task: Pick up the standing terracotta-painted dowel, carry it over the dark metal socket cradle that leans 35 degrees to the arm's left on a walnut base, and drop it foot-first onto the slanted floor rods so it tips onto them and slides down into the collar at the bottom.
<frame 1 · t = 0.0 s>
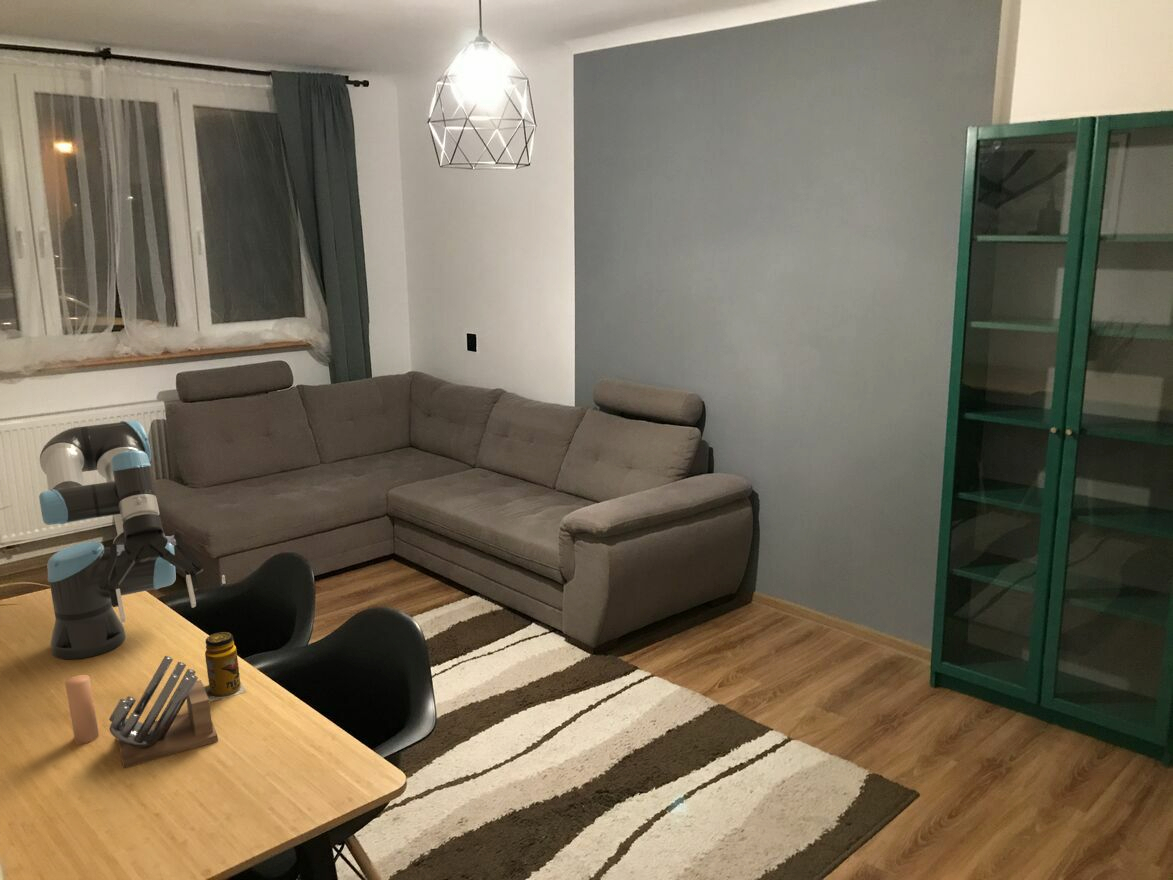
hand: (159, 613, 194), 15 cm above the table, tool tilted 35°, fingers open, 13 cm apart
socket base: (138, 747, 172), on the table
peg: (87, 737, 176), on the table
condiment: (221, 691, 193), on the table
socket: (138, 747, 172), resting on socket base
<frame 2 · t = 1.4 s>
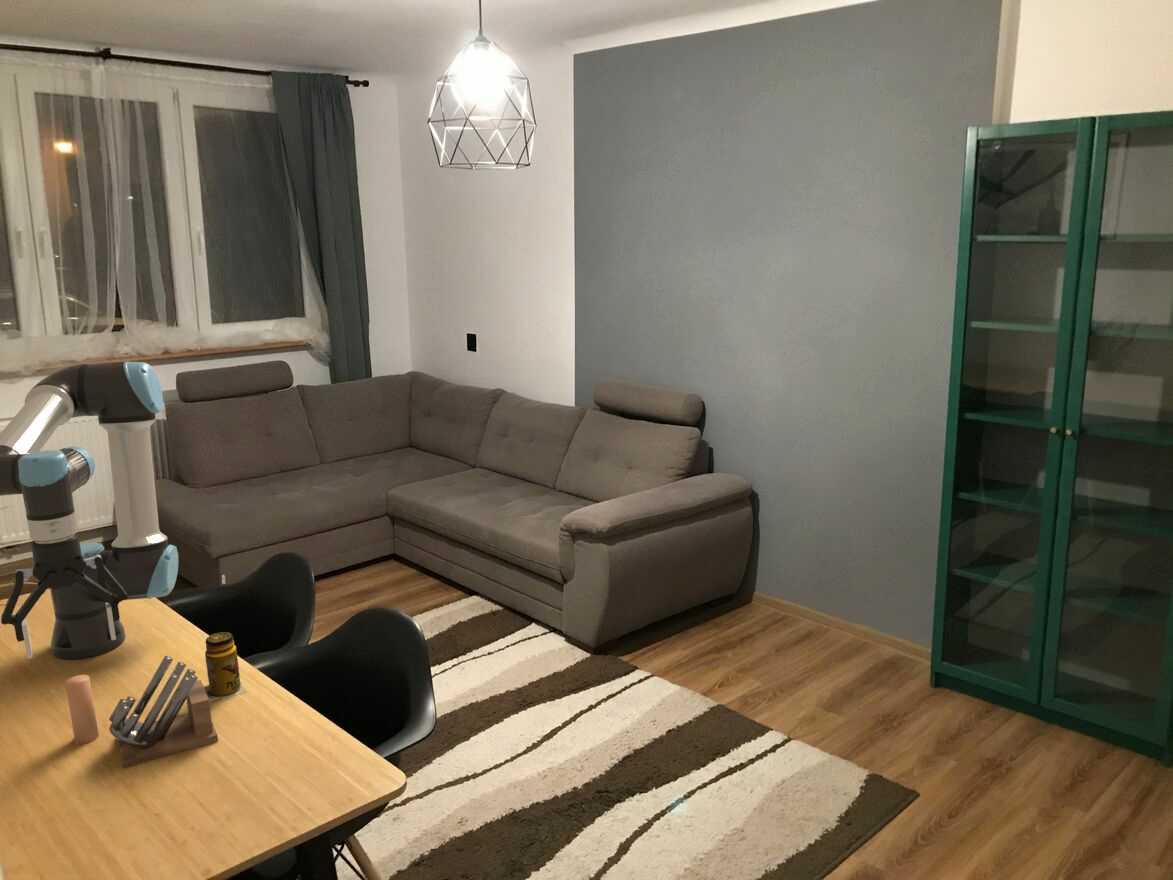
hand: (72, 646, 172), 19 cm above the table, tool pointing down, fingers open, 13 cm apart
nothing on the table moved.
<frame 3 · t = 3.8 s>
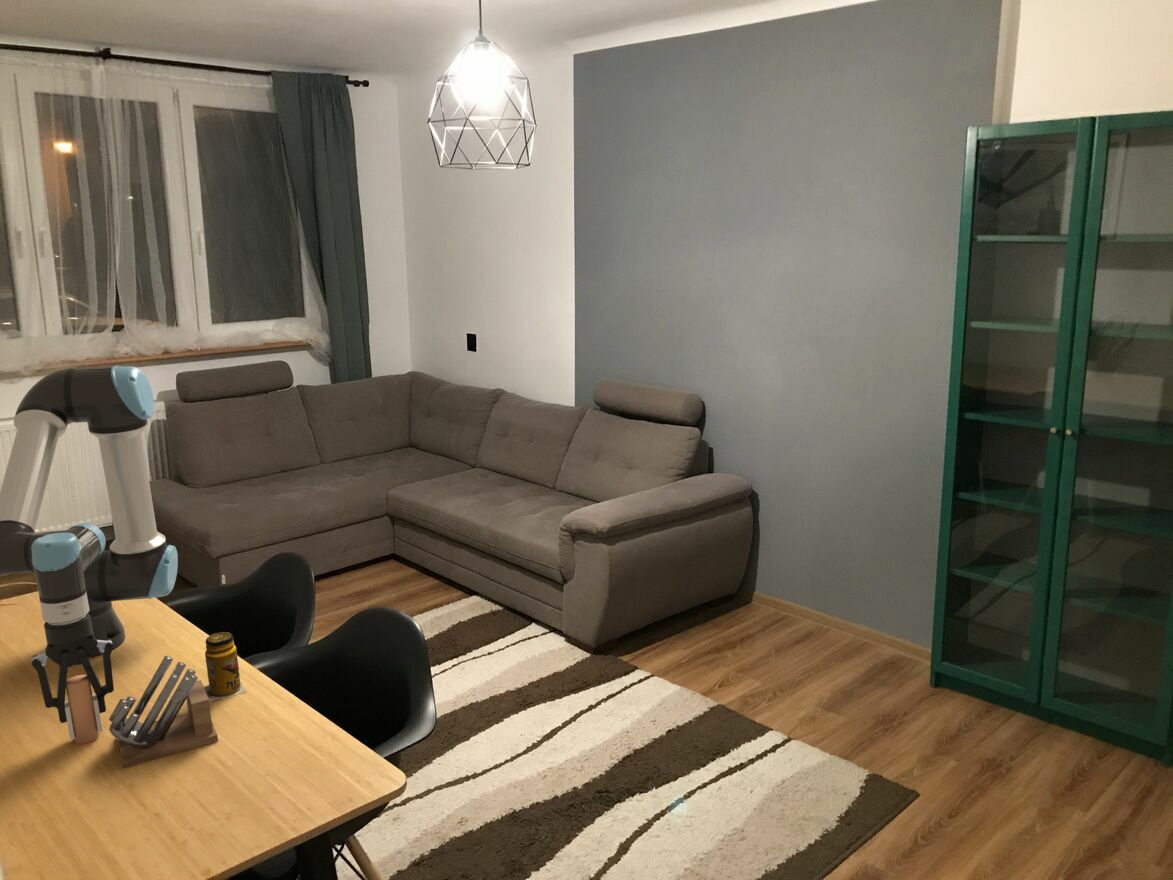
hand: (86, 731, 176), 1 cm above the table, tool pointing down, fingers closed on peg, 4 cm apart
peg: (87, 737, 176), on the table, touching gripper
everything else where it was.
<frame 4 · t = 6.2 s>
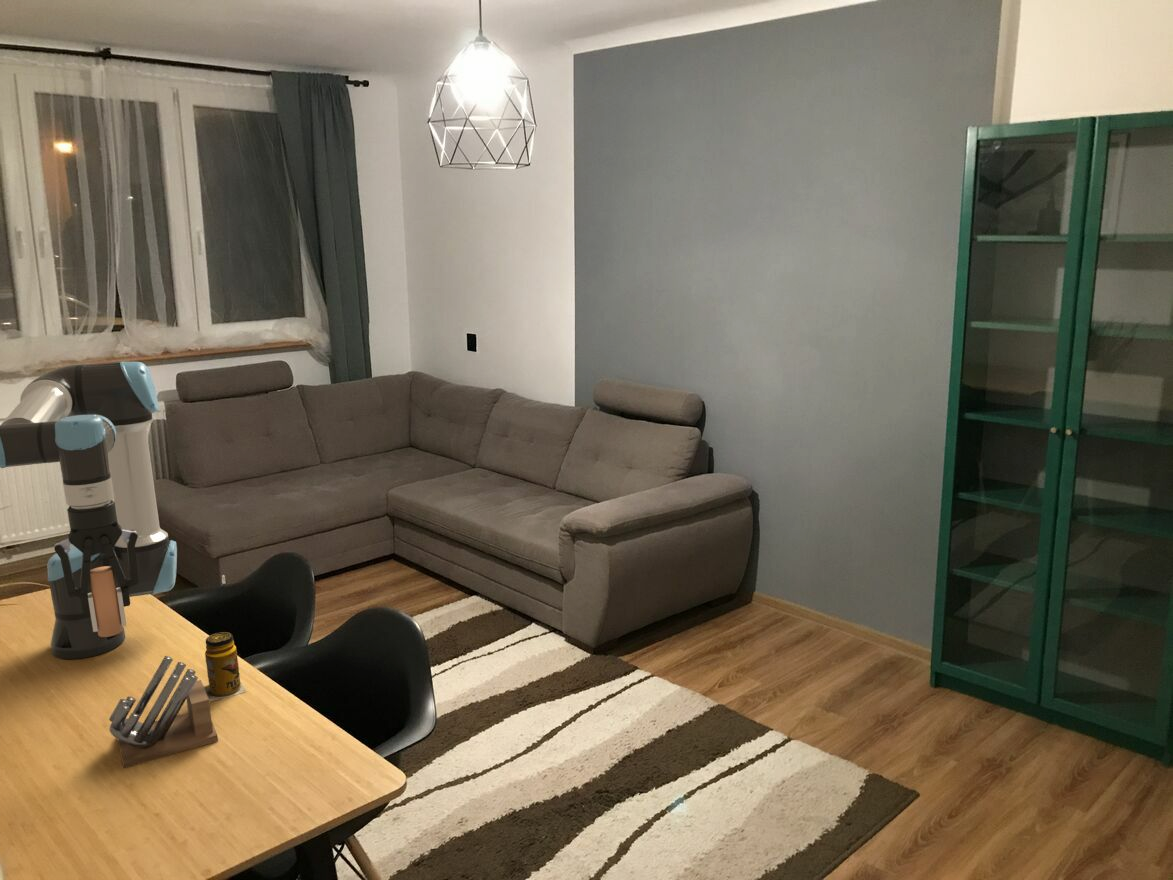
hand: (109, 625, 170), 23 cm above the table, tool pointing down, fingers closed on peg, 4 cm apart
peg: (110, 632, 170), point 22 cm above the table, touching gripper
everything else where it was.
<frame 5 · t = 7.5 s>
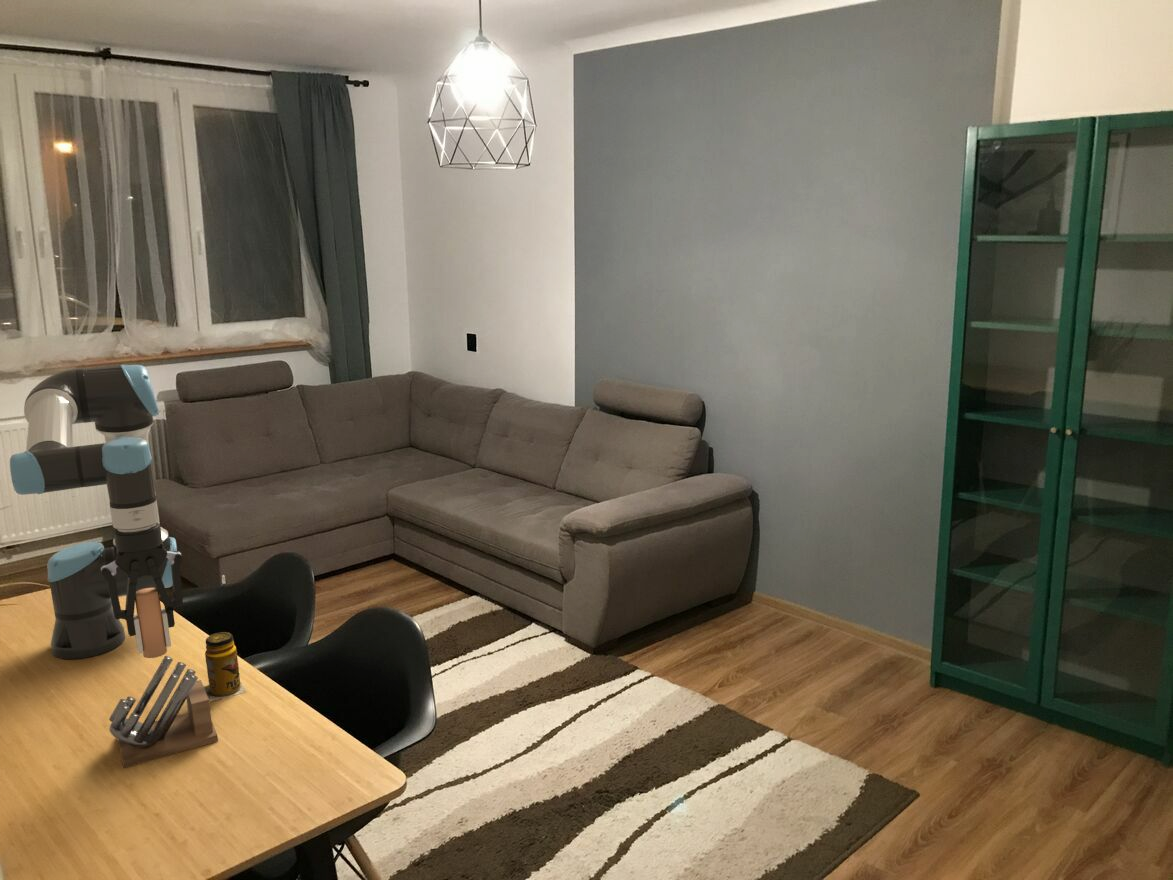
hand: (154, 646, 170), 19 cm above the table, tool pointing down, fingers closed on peg, 4 cm apart
peg: (155, 653, 171), point 18 cm above the table, touching gripper
everything else where it was.
when the fingers open (13 cm above the table, at t = 8.7 s): peg drops 9 cm and tips over, resting on socket.
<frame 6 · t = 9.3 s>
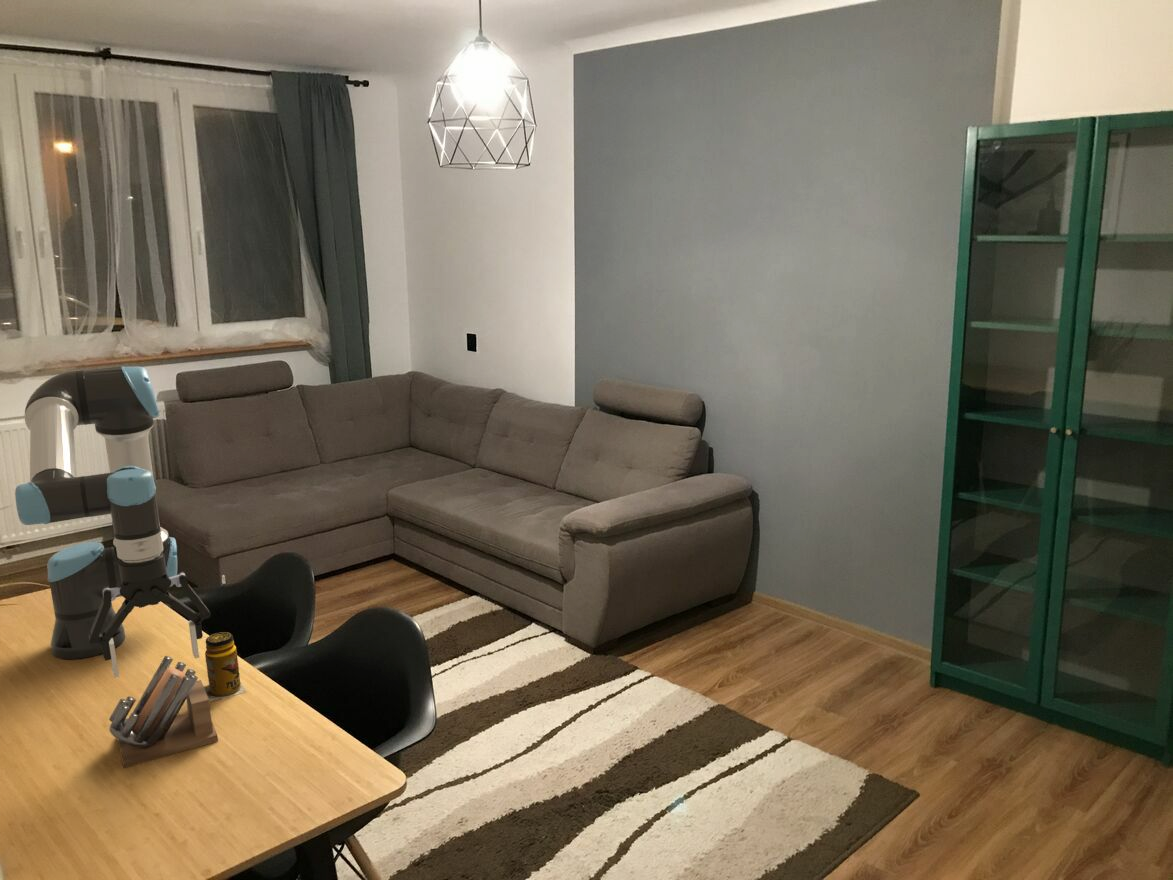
hand: (156, 664, 171), 15 cm above the table, tool pointing down, fingers open, 13 cm apart
peg: (142, 729, 173), point 3 cm above the table, tilted 36°, touching socket
everything else where it was.
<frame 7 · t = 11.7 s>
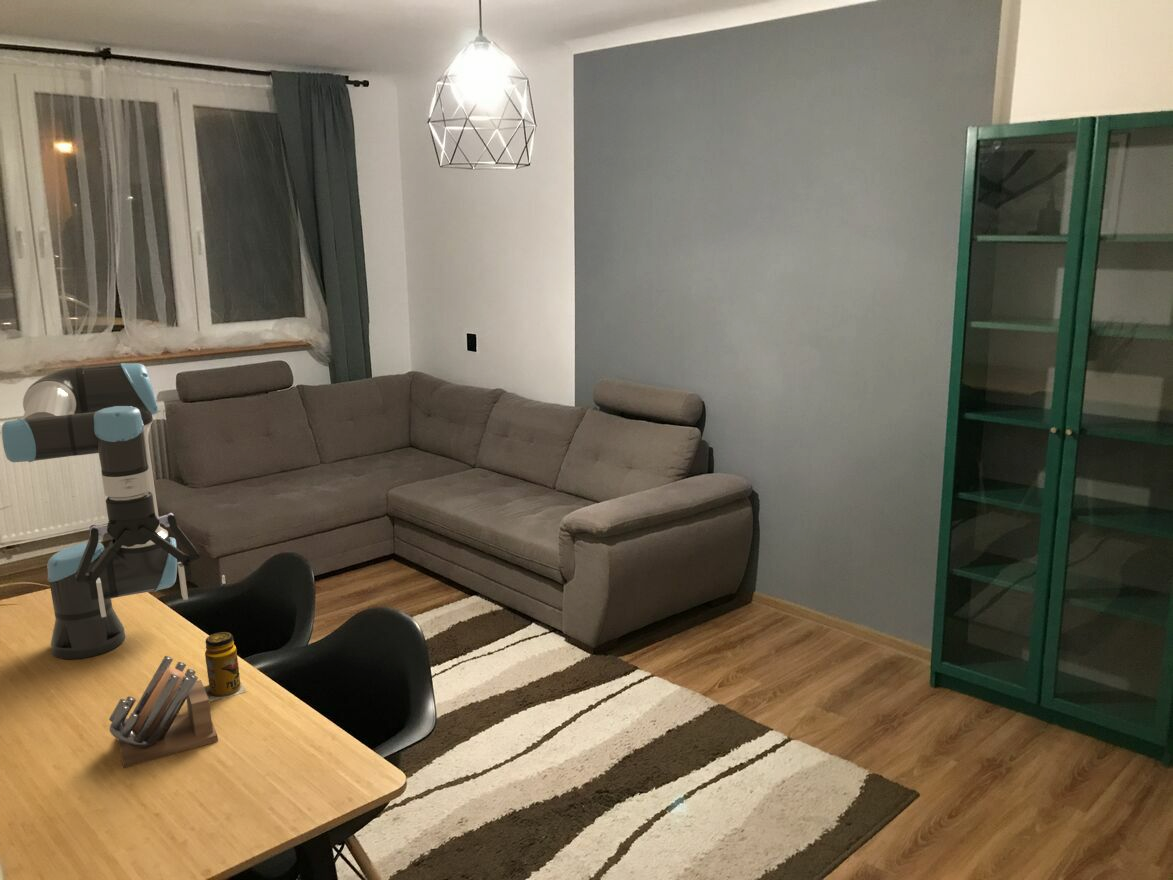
hand: (145, 605, 170), 27 cm above the table, tool pointing down, fingers open, 13 cm apart
nothing on the table moved.
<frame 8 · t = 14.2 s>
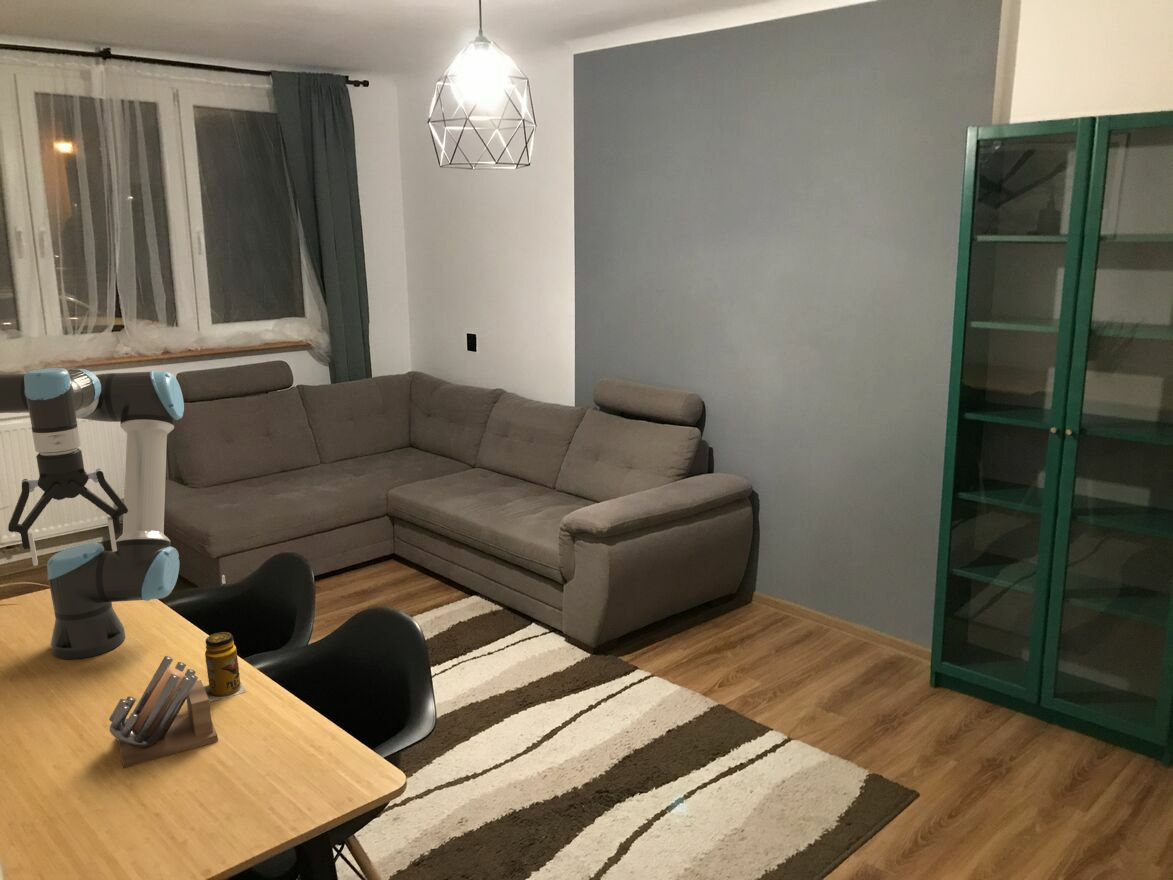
hand: (75, 556, 181), 32 cm above the table, tool pointing down, fingers open, 13 cm apart
nothing on the table moved.
at the end: peg inside the target area on the socket (0.8 cm from its centre), point 2.8 cm above the socket's base; peg tilted 36° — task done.
